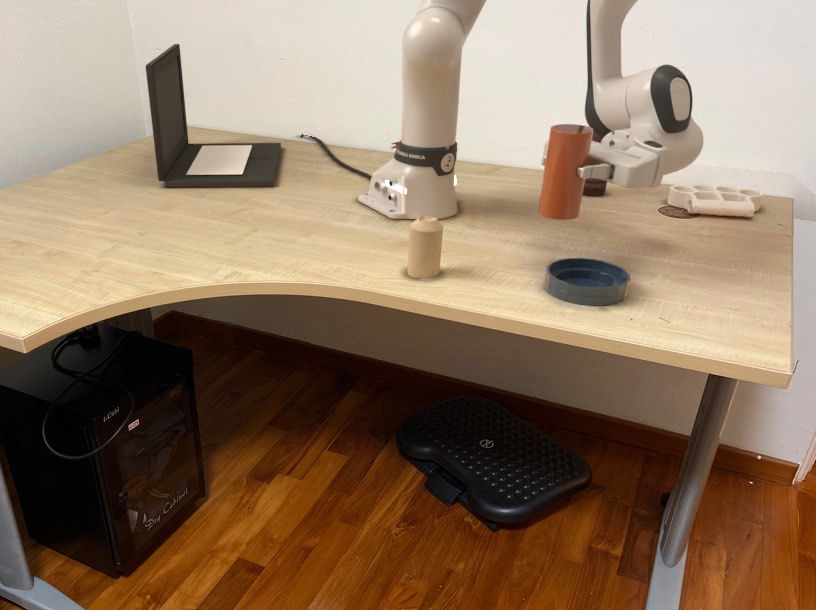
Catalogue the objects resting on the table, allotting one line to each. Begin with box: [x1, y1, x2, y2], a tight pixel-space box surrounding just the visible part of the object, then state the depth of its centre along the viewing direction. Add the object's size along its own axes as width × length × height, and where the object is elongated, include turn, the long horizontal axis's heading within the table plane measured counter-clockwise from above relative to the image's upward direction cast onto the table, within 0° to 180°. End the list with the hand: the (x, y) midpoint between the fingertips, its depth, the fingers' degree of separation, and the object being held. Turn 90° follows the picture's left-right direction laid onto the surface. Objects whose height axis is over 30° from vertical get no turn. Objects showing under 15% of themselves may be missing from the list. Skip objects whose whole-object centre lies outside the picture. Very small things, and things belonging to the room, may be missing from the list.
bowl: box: [543, 257, 632, 307], centre depth 124 cm, size 13×13×3 cm
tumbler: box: [538, 123, 593, 221], centre depth 125 cm, size 7×7×14 cm
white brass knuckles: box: [666, 183, 764, 219], centre depth 160 cm, size 3×18×15 cm
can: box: [582, 132, 608, 197], centre depth 168 cm, size 6×6×14 cm
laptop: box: [145, 43, 282, 188], centre depth 187 cm, size 37×27×27 cm
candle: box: [406, 215, 444, 280], centre depth 129 cm, size 6×6×10 cm
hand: (561, 166), depth 124 cm, fingers closed on tumbler, 6 cm apart
